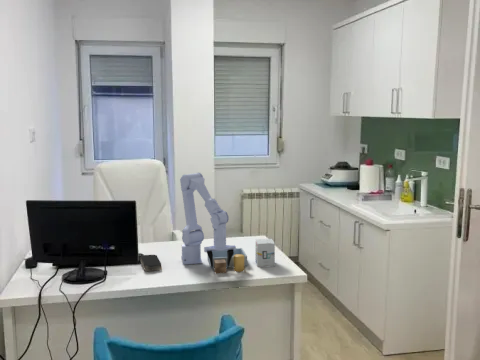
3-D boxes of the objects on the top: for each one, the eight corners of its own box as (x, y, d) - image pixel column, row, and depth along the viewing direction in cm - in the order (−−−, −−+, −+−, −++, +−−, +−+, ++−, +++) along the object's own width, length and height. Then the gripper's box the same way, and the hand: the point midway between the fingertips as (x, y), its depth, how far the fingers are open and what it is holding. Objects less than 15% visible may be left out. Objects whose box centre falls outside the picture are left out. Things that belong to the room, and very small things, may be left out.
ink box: (255, 261, 242) (255, 238, 240) (272, 261, 243) (272, 238, 241) (257, 267, 234) (257, 243, 232) (274, 266, 234) (275, 243, 233)
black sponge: (139, 262, 242) (139, 255, 241) (157, 260, 244) (156, 253, 244) (144, 273, 226) (144, 265, 226) (162, 271, 229) (162, 263, 229)
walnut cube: (215, 273, 225) (215, 263, 224) (214, 270, 230) (214, 259, 229) (226, 273, 226) (226, 262, 225) (224, 269, 231) (224, 259, 230)
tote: (210, 268, 232) (210, 258, 231) (207, 259, 245) (207, 249, 244) (247, 266, 235) (247, 256, 234) (242, 257, 248) (242, 248, 247)
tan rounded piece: (234, 272, 227) (234, 257, 226) (232, 268, 231) (232, 254, 230) (245, 271, 227) (245, 257, 226) (243, 268, 232) (243, 253, 231)
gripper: (205, 240, 220) (205, 269, 222) (236, 239, 223) (236, 267, 225) (203, 236, 227) (203, 264, 229) (234, 235, 230) (234, 262, 232)
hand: (220, 265), depth 227 cm, fingers open, 7 cm apart
